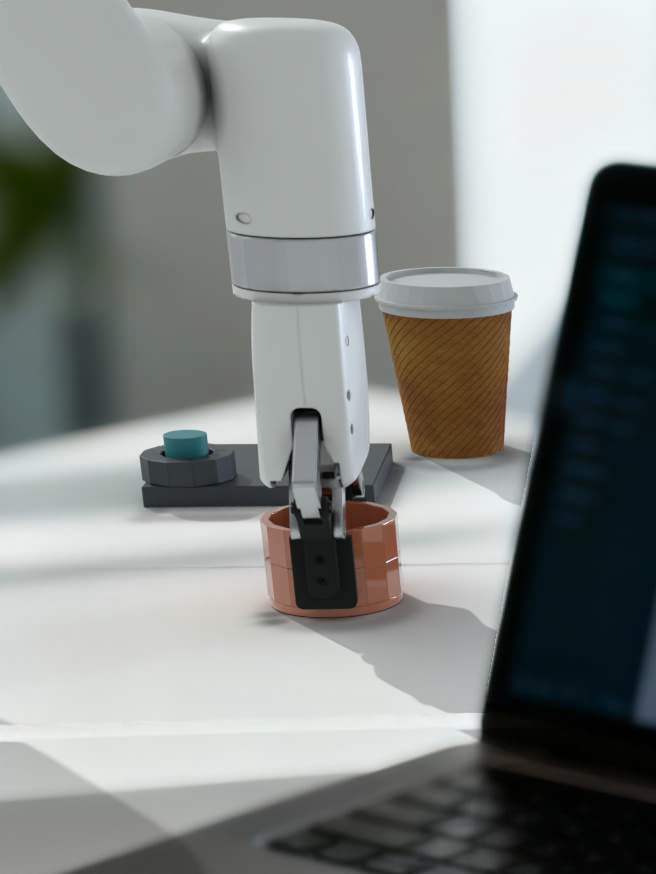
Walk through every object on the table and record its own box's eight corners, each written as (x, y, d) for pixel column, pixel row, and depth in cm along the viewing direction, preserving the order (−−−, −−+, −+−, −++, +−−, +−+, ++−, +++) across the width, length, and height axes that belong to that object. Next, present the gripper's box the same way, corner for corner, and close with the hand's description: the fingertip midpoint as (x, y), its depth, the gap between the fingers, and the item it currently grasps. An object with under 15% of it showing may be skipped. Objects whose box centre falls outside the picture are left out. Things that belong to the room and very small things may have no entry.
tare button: (162, 462, 150) (159, 438, 149) (169, 453, 152) (166, 429, 152) (205, 462, 150) (203, 438, 150) (212, 453, 153) (209, 429, 152)
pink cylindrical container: (261, 618, 129) (252, 533, 128) (279, 582, 136) (270, 500, 134) (397, 616, 131) (389, 531, 129) (408, 580, 137) (401, 499, 135)
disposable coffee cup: (541, 460, 166) (530, 285, 161) (400, 469, 162) (385, 290, 157) (511, 431, 173) (500, 263, 169) (376, 439, 169) (361, 268, 165)
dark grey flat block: (138, 509, 149) (132, 462, 148) (173, 464, 160) (168, 420, 159) (375, 507, 152) (370, 461, 151) (393, 463, 163) (389, 419, 162)
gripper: (255, 240, 133) (287, 547, 140) (203, 291, 118) (241, 634, 124) (394, 241, 135) (419, 545, 142) (361, 292, 119) (391, 632, 126)
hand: (336, 585), depth 133 cm, fingers closed on pink cylindrical container, 7 cm apart
